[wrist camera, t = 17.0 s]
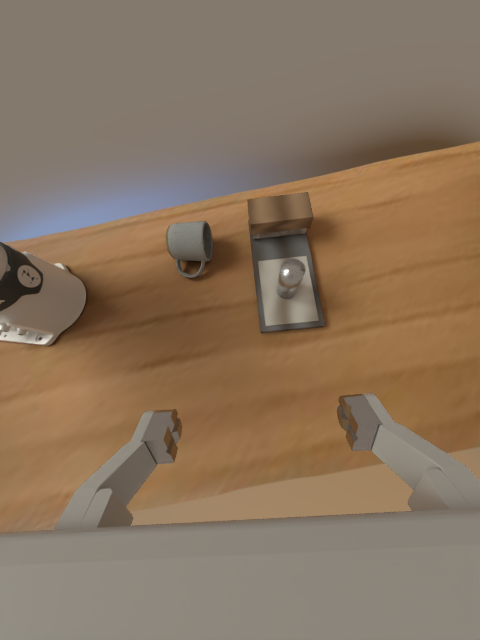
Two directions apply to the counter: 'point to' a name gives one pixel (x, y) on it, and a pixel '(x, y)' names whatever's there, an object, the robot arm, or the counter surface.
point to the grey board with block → (272, 250)
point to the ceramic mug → (190, 244)
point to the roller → (290, 278)
